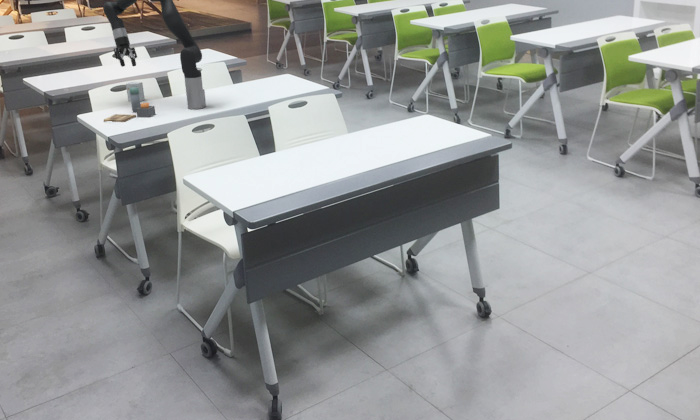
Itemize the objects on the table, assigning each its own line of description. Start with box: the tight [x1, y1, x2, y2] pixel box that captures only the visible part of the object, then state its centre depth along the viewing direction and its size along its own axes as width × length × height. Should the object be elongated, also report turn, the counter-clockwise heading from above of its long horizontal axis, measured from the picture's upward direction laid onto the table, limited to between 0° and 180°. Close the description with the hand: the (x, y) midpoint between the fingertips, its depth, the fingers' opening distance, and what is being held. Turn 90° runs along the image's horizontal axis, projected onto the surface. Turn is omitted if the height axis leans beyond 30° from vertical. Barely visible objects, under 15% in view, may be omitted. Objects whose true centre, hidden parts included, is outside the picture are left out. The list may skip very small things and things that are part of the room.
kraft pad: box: [103, 113, 137, 123], centre depth 387 cm, size 12×12×1 cm
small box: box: [125, 81, 146, 102], centre depth 429 cm, size 8×6×10 cm
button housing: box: [136, 105, 156, 118], centre depth 392 cm, size 7×7×4 cm
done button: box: [140, 102, 150, 108], centre depth 391 cm, size 4×4×3 cm
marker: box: [129, 87, 141, 113], centre depth 401 cm, size 5×5×13 cm
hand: (129, 66), depth 408 cm, fingers open, 8 cm apart
